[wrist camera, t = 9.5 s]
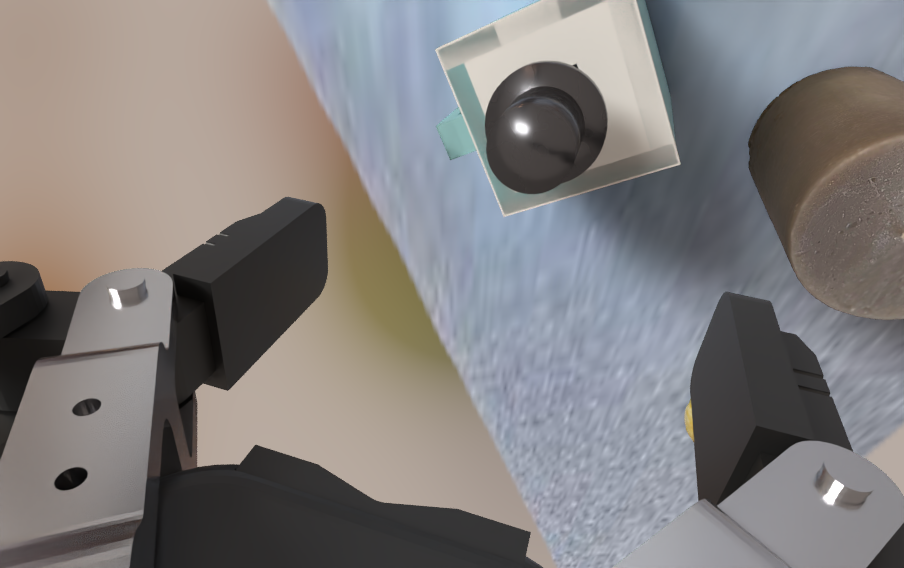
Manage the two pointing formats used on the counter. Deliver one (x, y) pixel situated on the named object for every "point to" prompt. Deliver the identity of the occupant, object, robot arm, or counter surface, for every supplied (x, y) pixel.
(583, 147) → the doorknob
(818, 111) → the pillar candle
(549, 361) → the counter surface
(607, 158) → the open teal box
